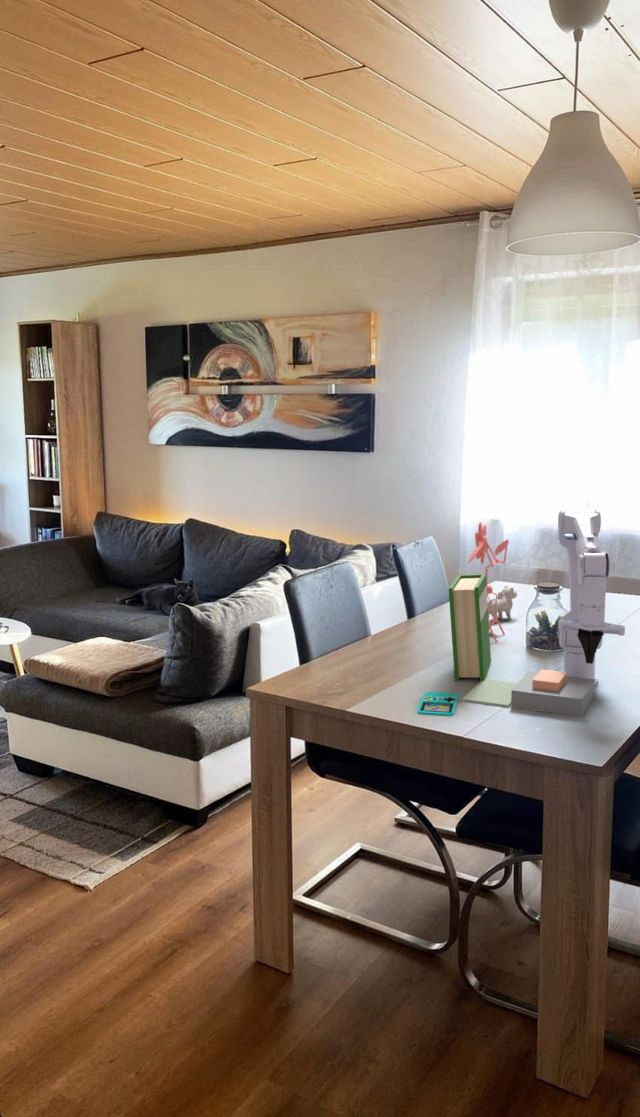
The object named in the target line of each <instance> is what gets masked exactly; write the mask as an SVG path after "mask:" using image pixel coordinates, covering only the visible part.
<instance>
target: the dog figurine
mask: <svg viewBox="0 0 640 1117" xmlns="http://www.w3.org/2000/svg"><path fill="white" fill-rule="evenodd" d="M517 596H518V591H517V590H515V589H514V587H513V586H512V587H511V586H510V587H509V585H504V587H503V588H502V590H501V591H498V593H497V608H496V616H497V615H499V617H498V618H499V619H503V612H505V616H506V618H507V620H509V621H510V620H511V621H512V620H513V619H512V617H511V616H512V615H511V611H512V609H513V606H514V605H513V599H515V598H517ZM489 599H490V601H491V607H490V614H489V615H490V616H491V617H492V618H493V619H494V617H495V605H496V597H494V598H493V597H492V598H489ZM487 604H488V613H489V605H490V602H489V600H487ZM493 619H492V620H493ZM494 624H498V623H497V621H495V623H494Z"/></svg>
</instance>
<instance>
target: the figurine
mask: <svg viewBox="0 0 640 1117" xmlns="http://www.w3.org/2000/svg"><path fill="white" fill-rule="evenodd" d="M486 536H487V524H483V522H482V521H479V523H478V528H477V532H475V534H474V539H475V547H476V549H475V550H474V551H473V552H472V554H471V555H470V557H469V559H468V561H467V563H468V564H470V563H471V562H472V561H473V560H474V558H476V560H479V559H480V563H481V565H483V564H484V562H485V558H486V556H487V558H488V561H489V563H490V564H488V566H486V568H485V574H486V587H487V600H488V601H489V602H490V605H489V613H488V620H489V619H490V615H491V614H490V607H491V601H490V599H491V598H490V596H489V595H490V594H493V595H495V599H496V605H495V617H494V619H492V621H490V620H489V632H490V633H491V635H492V637H493V639H494V641H495V643H498V639H497V638H496V636H495V634H494V631H493V629H492V627H493V625H494V624H497V625H498V627H499V629H500V630H501V633H502V635H503V636H505V635H506V633H505V631H504V629H503V627H502V624H501V623H500V621H499V619H498V618H499V615H498V614H497V616H496V608H497V597H498V593H496V592H493V590H494V589H493V587H492V586H491V585H488V569H490V568H493V567H494V566H495V565H496V564H497V563H500V564H503V565H504V564H505V563H506V558H507V551H508V545H509V542H510V541H509V539H507V538H506V540H504V541H502V542H501V543H499V544H498V545H497V547H496V548H495V550H494V551H493V550H492V548H491V546H490V544H489V542H488V539H487V537H486ZM488 551H489V552H490V553H491V554H492V557H493V559H494V561H492V559H491V557H490V554H489V552H488ZM503 551H504V555H503V561H502V560H500V559H498V558H496V556H497V555H499V554H500V553H502V552H503ZM495 621H497V623H495ZM509 630H511V631H512V630H513V629H511V628H509Z"/></svg>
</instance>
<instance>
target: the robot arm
mask: <svg viewBox="0 0 640 1117" xmlns="http://www.w3.org/2000/svg"><path fill="white" fill-rule="evenodd" d="M557 519H558V520H557V527H558V528H557V530H558V532H557V534H558V541H559V545H561V546H562V547H564V548H566V553H567V557H568V576H569V577H568V579H569V581H568V582H569V603H570V604H569V607H570V610H569V611H567V612H566V613H564V614H563V615H562V616H561V617H560V619H559V620H558V621H557V623H558V624H557V630H558V644H559V647H561V649H564V656H563V657H564V661H563V662H564V663H563V672H567V676H570V677H579V678H587V679H595V686H596V685H597V683H598V682H599V678H598V677H595V675H596V671H595V670H596V654H597V650H599V649H600V648H601V647H602V644H603V636H604V634H609V635H618V636H620V637H621V636H624V635H625V634H626V633H625V631H626V630H625V629H626V625H621V624H617V623H616V624H615V623H611V622H605V621H606V620H605V617H606V592H607V579H608V578H609V576H610V571H611V570H610V569H611V562H610V561H611V560H610V555H609V553H608V551H604V549H603V547H602V543H601V540H600V539H599V534H600V532H601V525H602V517H601V512H600V511H599V510H598V509H591V510H590V509H582V510H581V509H579V510H577V509H565V510H564V509H560V510H559V512H558V516H557Z"/></svg>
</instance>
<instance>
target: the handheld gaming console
mask: <svg viewBox="0 0 640 1117" xmlns="http://www.w3.org/2000/svg"><path fill="white" fill-rule="evenodd" d="M459 697H460V696H459V694H458V693H455V692H454V693H452V692H436V691H429V692H425V693H423V694H422V697H421V700H420V702H419V704H418V707H417V710H416V713H417V714H419V715H428V714H429V715H431V716H442V715H443V716H447V717H450V716H451V717H452V716H454V715H455V712H456V708H457V704H458V701H459ZM425 705H426V707H430V708H431V709H429V710H428V709H424V708H425ZM436 707H437V708H436ZM438 707H439V708H440V709H447V708H448V707H449V709H448V710H447V711H446V710H445V711H444V710H443V711H442V710H439V708H438Z"/></svg>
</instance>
